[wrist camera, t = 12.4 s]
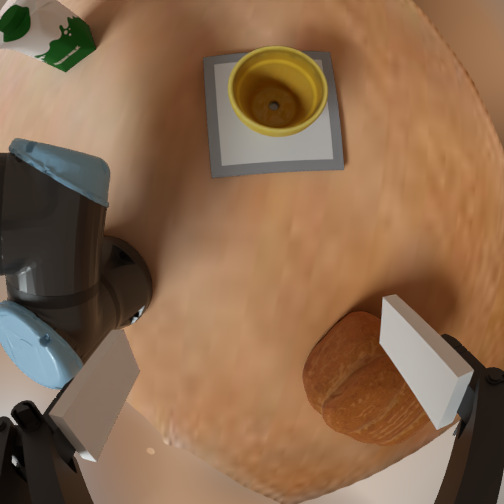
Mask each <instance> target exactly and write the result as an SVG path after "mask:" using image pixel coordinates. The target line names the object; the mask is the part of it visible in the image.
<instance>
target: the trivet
mask: <svg viewBox="0 0 504 504" xmlns="http://www.w3.org/2000/svg"><path fill="white" fill-rule="evenodd" d="M301 52H303V53H305V54H306V55H308V56H309V57H311V58H312V59H313V60H314V61H315V62H316V63H317V64H318V65H319V67H320V68H321V70H322V71H323V73H324V75H325V77H326V80H327V84H328V99H327V103H326V106H325V108H324V110H323V112H322V113H321V115H320V116H319V117H318V118H317V119H316V120H315V122H314V123H312V124H311V125H310V126H309V127H308V128H306V129H305V130H303V131H301V132H299V133H297V134H294V135H291V136H286V137H270V136H265V135H262V134H259V133H257V132H255V131H253V130H251V129H250V128H248V127H247V126H246V125H244V124H243V123H242V122H241V121H240V119H239V118H238V117H237V115H236V114H235V112H234V110H233V108H232V106H231V103H230V100H229V96H228V80H229V76H230V74H231V71H232V69H233V68H234V66H235V65H236V63H237V62H238V61H239V60H240V59H241V58H242V57H243V56H245V55H246V54H248V53H237V54H227V55H219V56H211V57H204V58H203V65H204V82H205V98H206V113H207V126H208V139H209V151H210V163H211V174H212V178H220V177H229V176H240V175H252V174H265V173H280V172H298V171H323V170H344V161H343V148H342V137H341V127H340V118H339V109H338V101H337V94H336V87H335V80H334V74H333V68H332V62H331V56H330V52H319V51H301ZM278 107H279V106H278V104H277V103H276V102H272V103H270V104H269V108H270V109H272V110H277V109H278Z"/></svg>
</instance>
